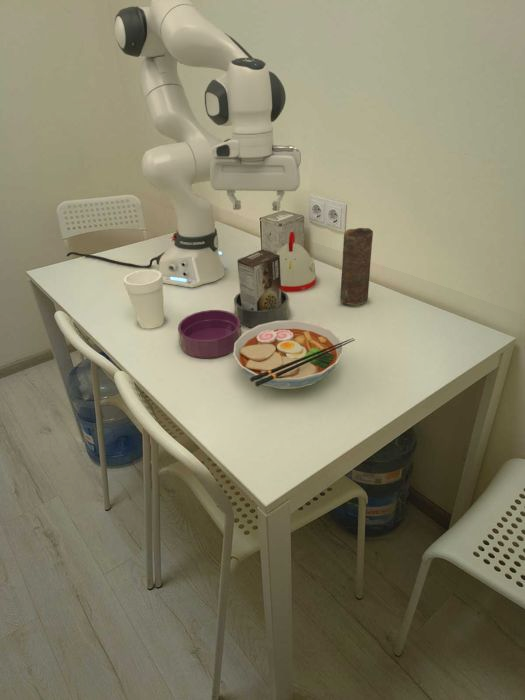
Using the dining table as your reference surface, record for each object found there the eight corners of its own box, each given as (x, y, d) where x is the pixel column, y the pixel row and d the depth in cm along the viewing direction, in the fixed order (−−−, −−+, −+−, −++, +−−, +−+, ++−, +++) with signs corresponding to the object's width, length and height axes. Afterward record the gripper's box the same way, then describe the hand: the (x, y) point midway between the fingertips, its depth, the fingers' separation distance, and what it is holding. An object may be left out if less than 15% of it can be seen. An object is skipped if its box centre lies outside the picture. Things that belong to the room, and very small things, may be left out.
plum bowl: (171, 356, 112) (167, 338, 109) (193, 325, 124) (191, 307, 121) (231, 362, 108) (229, 343, 106) (248, 329, 121) (247, 311, 118)
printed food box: (265, 304, 131) (262, 248, 122) (282, 312, 127) (281, 254, 118) (241, 317, 125) (236, 259, 117) (258, 325, 122) (254, 265, 113)
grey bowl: (229, 326, 122) (227, 309, 119) (243, 301, 134) (242, 285, 131) (282, 331, 119) (282, 313, 116) (293, 305, 130) (292, 288, 128)
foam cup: (134, 334, 121) (123, 287, 114) (132, 317, 129) (122, 272, 122) (171, 327, 123) (163, 281, 116) (168, 311, 131) (160, 267, 124)
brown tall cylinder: (367, 309, 126) (372, 236, 115) (339, 308, 128) (342, 235, 117) (367, 296, 132) (373, 225, 122) (341, 295, 134) (344, 225, 123)
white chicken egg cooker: (266, 291, 139) (263, 241, 130) (272, 271, 150) (270, 224, 142) (314, 292, 136) (314, 241, 128) (317, 272, 148) (317, 224, 140)
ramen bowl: (303, 335, 117) (303, 305, 112) (368, 380, 100) (371, 347, 96) (212, 370, 106) (208, 339, 102) (269, 427, 89) (267, 393, 85)
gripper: (303, 142, 104) (303, 206, 111) (213, 143, 108) (219, 204, 116) (298, 148, 99) (298, 214, 106) (204, 149, 103) (211, 212, 111)
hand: (256, 209), depth 111 cm, fingers open, 8 cm apart
